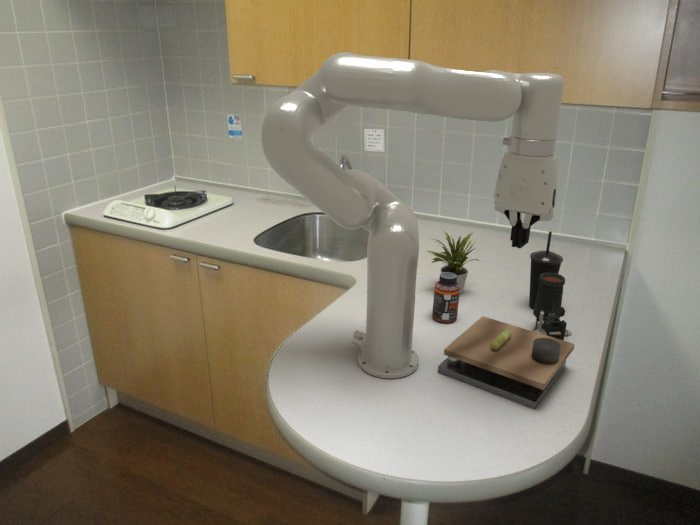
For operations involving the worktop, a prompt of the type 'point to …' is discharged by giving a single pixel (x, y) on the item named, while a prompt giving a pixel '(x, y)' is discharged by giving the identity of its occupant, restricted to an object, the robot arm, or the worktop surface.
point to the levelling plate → (511, 351)
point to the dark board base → (496, 382)
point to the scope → (550, 307)
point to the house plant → (455, 258)
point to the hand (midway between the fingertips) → (518, 245)
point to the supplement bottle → (446, 298)
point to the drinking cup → (542, 268)
